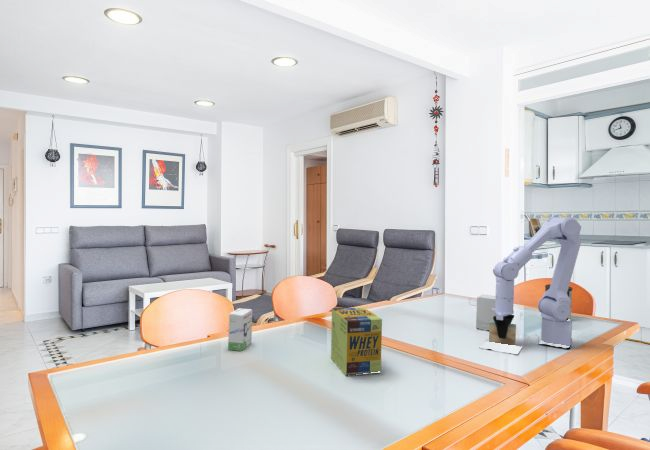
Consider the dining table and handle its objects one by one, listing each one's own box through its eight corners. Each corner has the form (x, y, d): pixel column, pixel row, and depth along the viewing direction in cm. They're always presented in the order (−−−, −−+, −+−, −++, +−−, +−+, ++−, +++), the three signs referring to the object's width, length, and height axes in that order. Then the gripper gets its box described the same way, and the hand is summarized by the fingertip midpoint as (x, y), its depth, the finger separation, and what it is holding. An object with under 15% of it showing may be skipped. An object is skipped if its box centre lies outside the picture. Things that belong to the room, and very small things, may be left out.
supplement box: (495, 332, 165) (496, 299, 164) (475, 329, 169) (476, 296, 168) (500, 328, 170) (501, 296, 170) (481, 325, 175) (482, 293, 174)
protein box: (346, 377, 119) (347, 320, 118) (330, 358, 134) (331, 307, 133) (381, 373, 122) (383, 318, 121) (362, 355, 136) (363, 306, 136)
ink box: (237, 342, 148) (238, 307, 147) (252, 343, 147) (252, 308, 146) (227, 350, 139) (227, 313, 139) (242, 351, 138) (242, 314, 138)
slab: (515, 344, 148) (516, 324, 148) (513, 347, 146) (514, 326, 146) (490, 340, 153) (491, 320, 153) (488, 342, 150) (489, 322, 150)
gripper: (496, 292, 157) (495, 330, 157) (487, 299, 145) (486, 339, 145) (517, 295, 153) (516, 333, 154) (510, 302, 141) (508, 343, 141)
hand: (503, 336), depth 149 cm, fingers closed on slab, 3 cm apart
